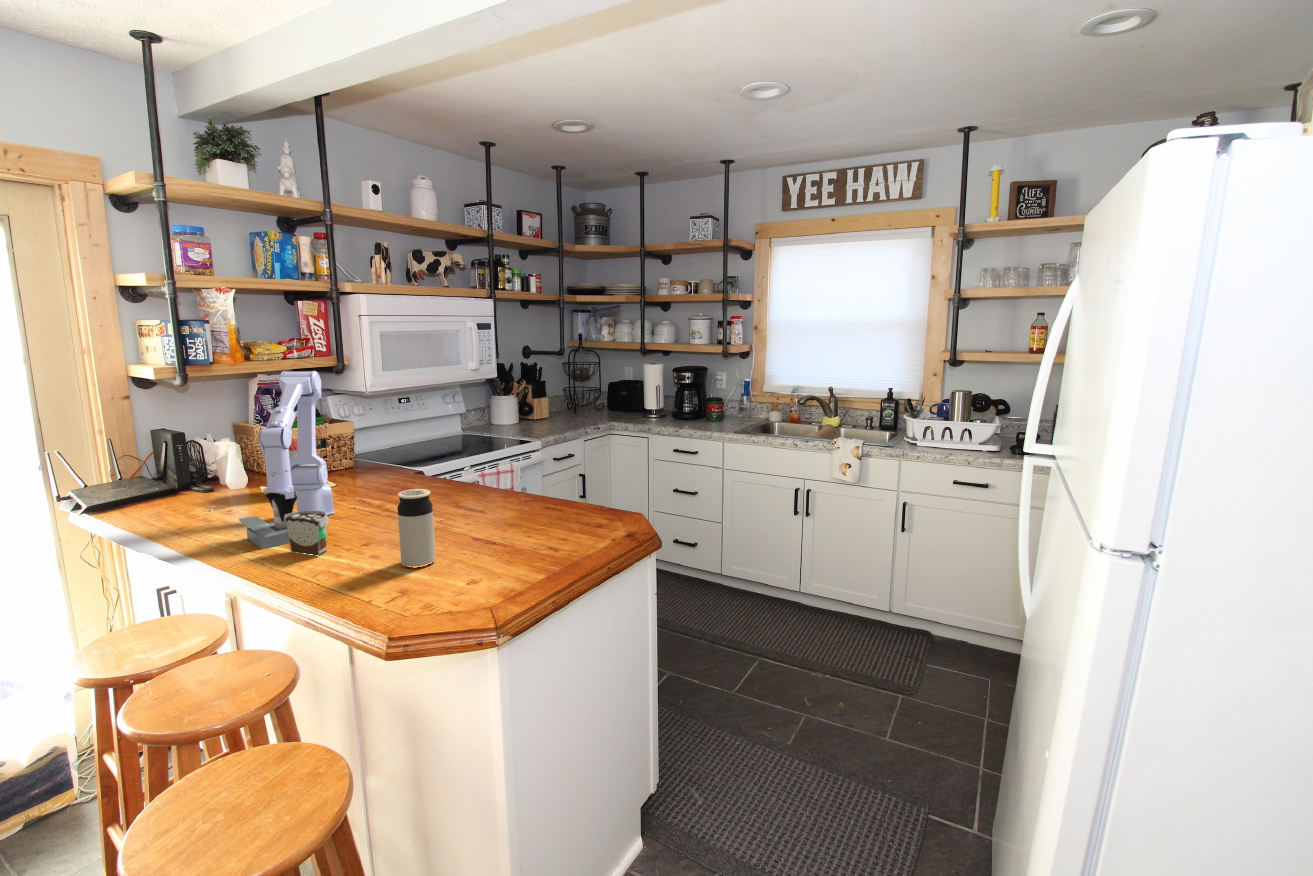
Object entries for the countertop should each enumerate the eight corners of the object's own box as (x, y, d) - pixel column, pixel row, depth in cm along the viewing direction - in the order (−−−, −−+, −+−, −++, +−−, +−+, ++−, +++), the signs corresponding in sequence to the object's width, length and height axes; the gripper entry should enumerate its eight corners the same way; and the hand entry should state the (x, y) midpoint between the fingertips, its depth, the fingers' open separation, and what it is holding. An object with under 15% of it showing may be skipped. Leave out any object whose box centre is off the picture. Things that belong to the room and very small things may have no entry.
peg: (289, 524, 178) (286, 496, 176) (293, 527, 175) (290, 499, 173) (273, 527, 175) (270, 499, 173) (277, 531, 172) (274, 502, 171)
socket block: (295, 528, 183) (293, 508, 182) (311, 538, 175) (309, 517, 174) (241, 540, 173) (238, 518, 172) (255, 550, 165) (253, 528, 164)
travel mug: (415, 571, 152) (410, 498, 148) (394, 564, 156) (389, 494, 153) (442, 561, 158) (438, 491, 155) (421, 555, 162) (417, 486, 159)
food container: (342, 549, 166) (339, 512, 164) (323, 557, 161) (320, 519, 159) (306, 544, 170) (303, 508, 168) (286, 551, 164) (282, 514, 163)
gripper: (253, 469, 174) (258, 517, 176) (271, 478, 164) (276, 528, 167) (281, 465, 179) (286, 511, 182) (300, 473, 170) (305, 522, 172)
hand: (283, 519), depth 175 cm, fingers closed on peg, 4 cm apart
